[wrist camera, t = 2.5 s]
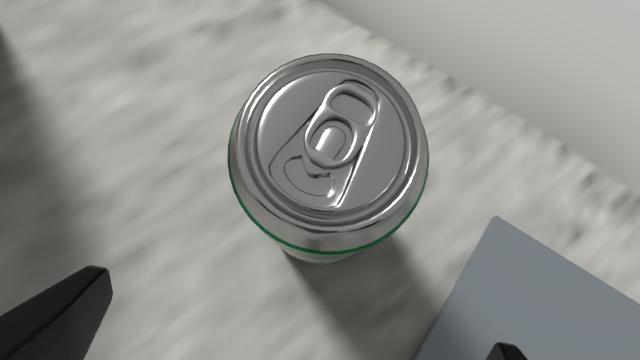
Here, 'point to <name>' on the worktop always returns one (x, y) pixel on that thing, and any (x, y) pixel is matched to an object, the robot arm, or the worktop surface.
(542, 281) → the slate mat
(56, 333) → the robot arm
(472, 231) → the worktop surface
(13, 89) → the worktop surface
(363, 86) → the soda can
